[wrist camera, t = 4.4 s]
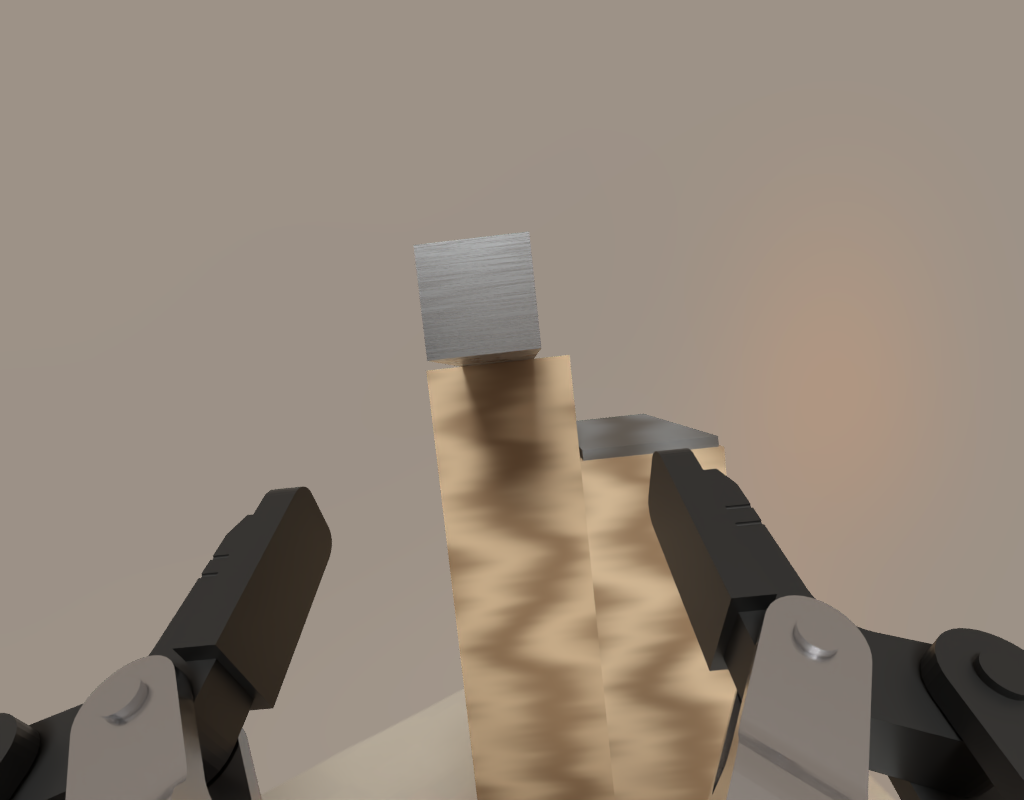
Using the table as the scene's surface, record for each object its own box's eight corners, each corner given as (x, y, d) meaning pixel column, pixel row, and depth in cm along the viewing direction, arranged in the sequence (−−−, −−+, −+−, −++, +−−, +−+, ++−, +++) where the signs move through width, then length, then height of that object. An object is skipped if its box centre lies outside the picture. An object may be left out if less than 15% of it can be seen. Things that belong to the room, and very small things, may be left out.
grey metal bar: (427, 360, 15) (413, 245, 15) (484, 370, 39) (479, 326, 39) (541, 348, 15) (528, 231, 15) (528, 365, 39) (523, 321, 39)
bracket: (490, 905, 26) (426, 370, 24) (501, 711, 41) (462, 373, 39) (760, 884, 25) (714, 338, 24) (671, 696, 40) (639, 353, 39)
